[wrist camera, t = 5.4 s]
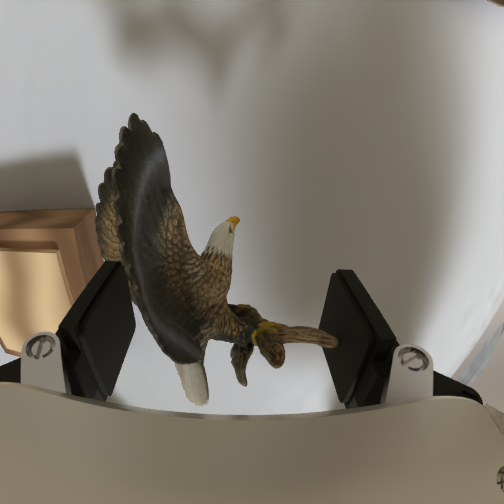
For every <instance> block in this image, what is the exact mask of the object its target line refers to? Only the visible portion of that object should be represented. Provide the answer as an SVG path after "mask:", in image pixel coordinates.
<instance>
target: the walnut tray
mask: <svg viewBox="0 0 504 504" xmlns="http://www.w3.org/2000/svg"><path fill="white" fill-rule="evenodd" d="M95 218H96V212H95V208H92V209H56V210H33V211H14V212H0V344H1V346H2V348H3V349H4V351H5V353H8V354H11V355H15V356H18V357H21V351H22V346H23V344H24V343H25V341H26V340H27V339H28V338H29V337H31V336H32V335H34V334H36V333H39V332H52V333H54V334H55V333H56V332H57V330H58V326H59V325H60V323H61V322H62V320H63V318H64V317H65V316H66V314H67V313H68V311H69V310H70V308H71V307H72V305H73V304H74V302H75V301H76V300H77V298H78V297H79V295H80V294H81V293H82V291H83V290H84V288H85V287H86V286H87V284H88V283H89V282H90V280H91V279H92V278H93V276H94V275H95V274H96V272H97V271H98V270H99V268H100V267H101V266H102V264H103V263H104V262H103V257H102V255H101V248H100V246H99V244H98V241H97V240H98V235H97V233H96V230H95V229H96V224H95Z"/></svg>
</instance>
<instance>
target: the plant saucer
mask: <svg viewBox="0 0 504 504" xmlns="http://www.w3.org/2000/svg"><path fill="white" fill-rule="evenodd" d="M487 1H489V2H492V3H494V4H496V5H498V6H501V7H504V0H487Z"/></svg>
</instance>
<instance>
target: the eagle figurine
mask: <svg viewBox="0 0 504 504" xmlns="http://www.w3.org/2000/svg"><path fill="white" fill-rule="evenodd" d="M115 159H116V161H115V162H114V164H113V167H108V168H107V169H106V170H105V173H104V183H100V184H99V187H98V195H99V199H100V203H97V204H96V212H97V216H96V218H95V224H96V229H95V230H96V233H97V235H98V240H97V241H98V244H99V246H100V248H101V255H102V257H103V258H104V260H105V261H120V262H121V264H122V265H124V268H125V273H126V276H127V278H128V284H129V290H130V296H131V301H133V302H134V304H135V305H137V306H138V308H139V310H140V312H141V314H142V317H143V320H144V322H145V324H146V326H147V327H148V329H149V331H150V333H151V334H152V335H153V337H154V339H155V340H156V342H157V344H158V345H159V347H160V348H161V350H162V351H163V352H164V353H165V354H166V355H167V356H168V357H170V358H171V359H172V361H174V362H175V366H176V368H177V371H178V374H179V376H180V378H181V381H182V386H183V389H184V390H185V393H186V396H187V398H188V399H189V400H190V401H191V402H193V403H194V404H195V405H197V406H204V405H207V403H208V400H209V390H208V383H207V377H206V373H205V368H204V365H203V364H204V356H205V349H206V347H207V343H208V340H210V339H214V340H221V341H225V342H230V343H234V345H233V347H232V349H231V355H230V356H231V358H232V361H231V363H232V365H233V367H234V369H235V372H236V377H237V379H238V382H239V383H240V384H241V385H243V386H245V387H246V386H247V379H246V373H245V370H246V365H247V362H248V360H249V358H250V356H251V354H252V352H253V350H254V345H255V346H258V347H259V350H260V352H261V354H262V355H263V356H264V357H265V358H266V360H267V361H268V362H269V364H270V365H271V366H272V367H274V368H280V367H281V366H282V365H283V363H284V360H285V349H284V346H283V344H285V343H313V344H318V345H319V346H322V347H325V348H337V347H339V340H338V339H337V338H335V337H333V336H331V335H329V334H328V333H326V332H324V331H322V330H320V329H316V328H311V327H303V326H295V327H288V326H286V325H283V324H279V323H275V322H269V321H267V320H266V319H263V318H262V317H261V315H260V314H259V313H258V312H257V310H256V309H255V308H253V307H251V306H250V305H244V304H239V305H233V304H228V303H227V298H226V296H227V293H228V291H229V289H230V283H231V274H232V250H233V241H234V230H235V226H236V224H238V223H239V221H240V220H239V218H238V217H236V216H233V217H231V218H229V219H228V220H226V221H225V222H224V223H222V224H220V225H219V226H218V227H217V228H215V230H214V231H213V232H212V234H211V236H210V239H209V241H208V243H207V246H206V248H205V250H204V251H203V253H202V254H201V256H199V255H198V254H197V253H196V251H195V250H194V248H193V247H192V245H191V243H190V240H189V238H188V235H187V231H186V227H185V221H184V217H183V213H182V210H181V207H180V205H179V203H178V201H177V199H176V197H175V196H174V194H173V191H172V188H171V180H170V171H169V165H168V160H167V157H166V152H165V149H164V146H163V142H162V140H161V138H160V137H159V135H158V134H157V133H155V132H153V133H152V131H151V129H150V127H149V126H148V124H147V123H146V121H144V120H140V119H139V117H138V115H137V114H135V113H132V114H131V115H130V117H129V120H128V128H127V127H126V126H123V127H121V129H120V133H119V144H118V145H117V146H116V147H115Z"/></svg>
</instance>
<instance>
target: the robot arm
mask: <svg viewBox="0 0 504 504" xmlns="http://www.w3.org/2000/svg"><path fill="white" fill-rule="evenodd" d="M135 328H136V322H135V317H134V312H133V307H132V301H131V296H130V290H129V284H128V278H127V276H126V273H125V268H124V265H122V264H121V262H120V261H105V262H104V263H103V264H102V266H101V267H100V268H99V270H98V271H97V272H96V274H95V275H94V276H93V278H92V279H91V280H90V282H89V283H88V284H87V286H86V287H85V288H84V290H83V291H82V293H81V294H80V295H79V297H78V298H77V300H76V301H75V302H74V304H73V305H72V307H71V308H70V310H69V311H68V313H67V314H66V316H65V317H64V318H63V320H62V322H61V323H60V325H59V326H58V330H57V332H56V333H55V334H54V333H52V332H39V333H36V334H34V335H32V336H31V337H29V338H28V339H27V340H26V341H25V343H24V344H23V346H22V351H21V358H19V359H16V360H14V361H11V362H9V363H7V364H4V365H2V366H0V504H504V413H502V412H501V411H498V410H497V409H495V408H494V407H492V406H490V405H488V404H485V406H483V402H482V399H481V397H480V395H479V394H478V393H477V392H476V391H475V390H474V389H472V388H471V387H468V386H466V385H464V384H462V383H460V382H457V381H455V380H453V379H451V378H449V377H446V376H444V375H442V374H440V373H438V372H436V371H433V361H432V358H431V356H430V354H429V353H428V352H427V351H426V350H424V349H423V348H421V347H419V346H417V345H413V344H402V345H399V344H398V342H397V340H396V337H395V335H394V333H393V332H392V330H391V329H390V327H389V325H388V324H387V322H386V320H385V319H384V317H383V316H382V314H381V313H380V311H379V309H378V308H377V306H376V305H375V303H374V302H373V300H372V298H371V297H370V295H369V294H368V292H367V291H366V289H365V288H364V286H363V285H362V283H361V282H360V280H359V279H358V277H357V276H356V274H355V273H354V271H353V270H343V269H338V270H337V271H336V273H332V275H331V279H330V283H329V287H328V292H327V296H326V300H325V304H324V309H323V313H322V317H321V321H320V325H319V329H320V330H322V331H324V332H326V333H328V334H329V335H331V336H333V337H335V338H337V339H338V340H339V347H337V348H325V347H322V348H323V351H324V354H325V357H326V360H327V363H328V366H329V370H330V373H331V376H332V379H333V382H334V385H335V388H336V392H337V395H338V398H339V401H340V402H341V403H344V404H345V407H346V409H342V410H334V411H324V412H313V413H300V414H281V415H215V414H197V413H183V412H173V411H163V410H154V409H146V408H139V407H132V406H126V405H120V404H114V403H109V402H106V399H107V396H111V395H112V393H113V390H114V387H115V384H116V381H117V378H118V375H119V372H120V370H121V367H122V364H123V361H124V358H125V356H126V353H127V350H128V348H129V345H130V342H131V340H132V337H133V334H134V332H135Z"/></svg>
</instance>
